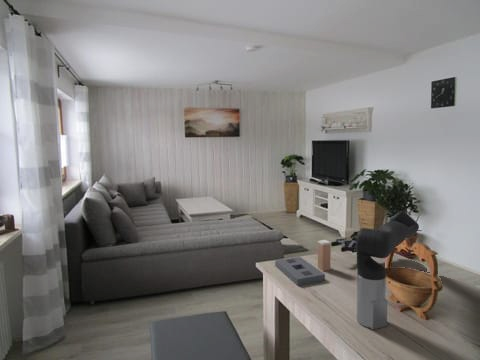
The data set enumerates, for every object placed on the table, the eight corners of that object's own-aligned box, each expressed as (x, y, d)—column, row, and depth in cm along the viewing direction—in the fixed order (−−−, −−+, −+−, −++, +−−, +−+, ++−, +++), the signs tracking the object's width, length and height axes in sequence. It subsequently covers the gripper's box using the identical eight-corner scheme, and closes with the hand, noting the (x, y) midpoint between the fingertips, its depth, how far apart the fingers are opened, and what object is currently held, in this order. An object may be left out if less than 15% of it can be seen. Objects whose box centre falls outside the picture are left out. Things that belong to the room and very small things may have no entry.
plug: (330, 269, 158) (330, 242, 157) (322, 271, 157) (322, 243, 155) (325, 266, 163) (325, 239, 161) (317, 267, 161) (317, 240, 160)
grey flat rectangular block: (324, 280, 147) (324, 274, 146) (297, 285, 143) (297, 278, 142) (299, 261, 169) (299, 256, 169) (275, 265, 165) (275, 260, 165)
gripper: (372, 254, 159) (344, 258, 155) (354, 245, 173) (328, 249, 168) (373, 239, 158) (345, 243, 154) (354, 232, 172) (328, 235, 167)
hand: (336, 246), depth 161 cm, fingers open, 8 cm apart
